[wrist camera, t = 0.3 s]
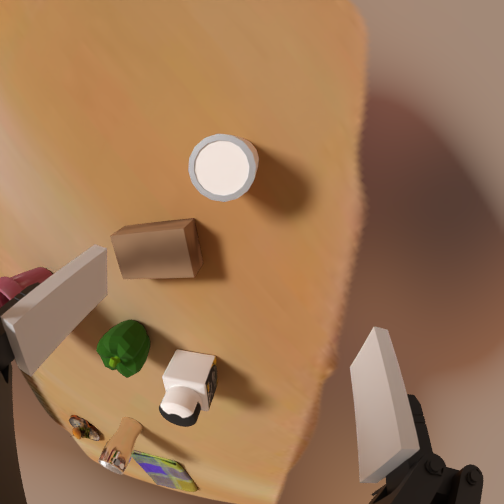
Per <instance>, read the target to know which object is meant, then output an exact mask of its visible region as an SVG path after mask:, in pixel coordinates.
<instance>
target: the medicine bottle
mask: <svg viewBox="0 0 504 504" xmlns="http://www.w3.org/2000/svg"><path fill="white" fill-rule="evenodd" d="M162 378H163V382H164V386H165V390H166V393H165V396H164V398H163V400H162V402H161V404H160V406H159V411H160V413H161V415H162V416H163V417H164V418H165V419H166V420H168V421H169V422H171V423H173V424H176V425H179V426H185V427H187V426H192V425H194V424H195V423H196V421H197V419H198V416H199V413H200V410H203V411H209V408H210V405H211V402H212V399H213V396H214V393H215V390H216V387H217V384H218V377H217V363H216V356H214V355H208V354H201V353H196V352H190V351H184V350H179V349H177V350H176V351H175V353H174V355H173V357H172V359H171V361H170V363H169V365H168V367H167V369H166V370H165V372H164V374H163V377H162Z"/></svg>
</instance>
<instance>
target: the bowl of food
mask: <svg viewBox="0 0 504 504" xmlns="http://www.w3.org/2000/svg"><path fill="white" fill-rule="evenodd" d="M69 422H70V424H71V425H72V426H73V427H74V428H73V435H74V436H75V437H76V438H77V439H81V437H82V438H90V439H92V440H95V441H99V435H98V434H97V432H96V430H97V428H95V427H94V426H93V425H92V426H89V424H88V422H87V420H84V419H81V418H78V417H77V416H76V415H74V416H73V415H72V416H71V418H70V419H69ZM73 435H72V436H73Z"/></svg>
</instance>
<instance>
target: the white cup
mask: <svg viewBox="0 0 504 504" xmlns="http://www.w3.org/2000/svg"><path fill="white" fill-rule="evenodd" d="M258 162H259V157H258V153H257V150H256V148H255V147H254V146H253V145H252V143H251V142H249V141H247V140H246V139H244V138H241V137H237V136H233V135H225V134H216V135H212V136H209V137H206V138H204V139H203V140H202V141H201V142H200V143H199V144H197V145H196V146H195V148H194V150H193V152H192V154H191V156H190V158H189V170H188V171H189V174H190V177H191V181H192V184H193V185H194V186H195V187H196V188H197V190H198V191H199V192H200V193H201V194H202V195H204V196H206V197H208V198H209V199H211V200H216V201H223V202H226V201H230V200H234V199H237V198H239V197H240V196H241V195H243V194H244V193H245V192H247V191H248V189H249V188H250V186H251V184H252V183H253V181H254V179H255V176H256V172H257V169H258Z"/></svg>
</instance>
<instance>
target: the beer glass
mask: <svg viewBox="0 0 504 504" xmlns="http://www.w3.org/2000/svg"><path fill="white" fill-rule="evenodd" d="M142 430H143V427H142V425H141V424H140V423H139V422H137V421H136V420H134V419H132V418H129V417H123V418H122V420H121V423H120V426H119V428H118V430H117V431H116V433H115V434H114V435H113V436H112V437H111V439H110V440H109V441H108V442H107V444H106V445H105V447H104V449H103V451H102V453H101V455H100V458H99V460H98V462H99V463H100V464H101V465H102V466H103V467H105V468H106V469H108V470H110V471H112V472H114V473H117V474H123V472H124V471H125V469H126V467H127V466H128V464H129V462H130V459H131V457H132V454H133V450H134V445H135V442H136V439H137V437H138V436H139V434H140V433H141V432H142Z"/></svg>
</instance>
